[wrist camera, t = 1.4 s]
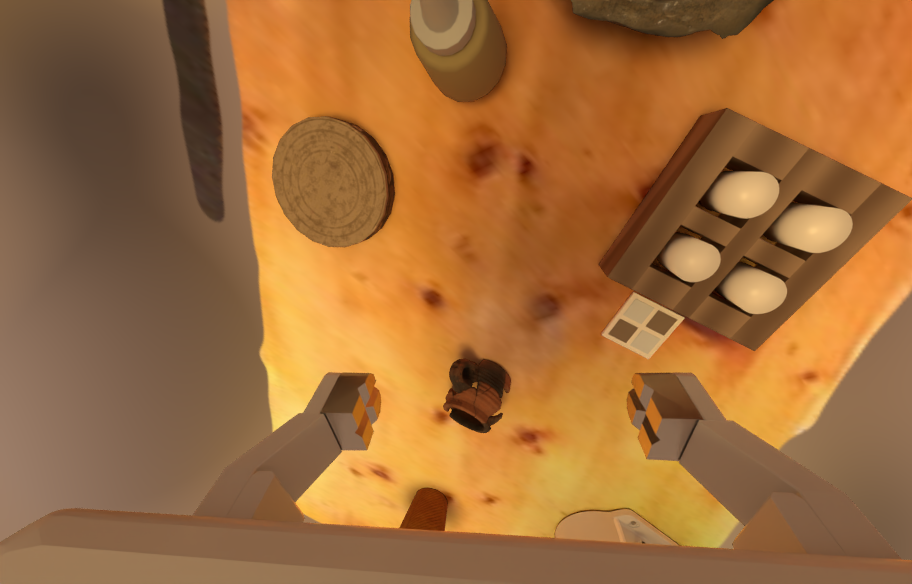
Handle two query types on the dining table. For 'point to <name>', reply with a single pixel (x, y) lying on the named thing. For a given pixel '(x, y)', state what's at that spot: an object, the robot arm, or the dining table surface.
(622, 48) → the dining table surface
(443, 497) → the disposable coffee cup
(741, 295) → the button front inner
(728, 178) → the beige egg
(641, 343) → the tile
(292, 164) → the brown wooden disc
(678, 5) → the stone bowl
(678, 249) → the egg
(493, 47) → the squeeze bottle
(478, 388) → the pottery mug
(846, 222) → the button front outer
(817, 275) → the button board
